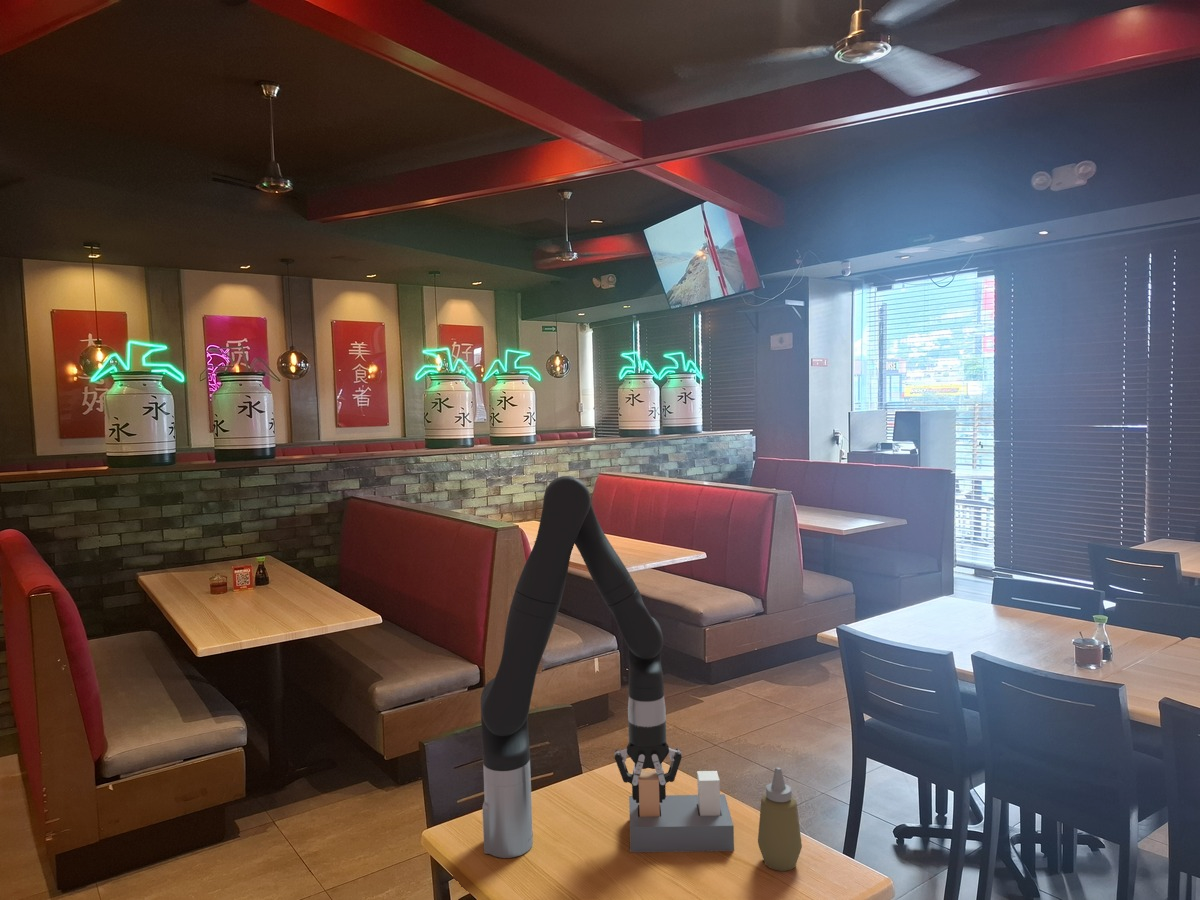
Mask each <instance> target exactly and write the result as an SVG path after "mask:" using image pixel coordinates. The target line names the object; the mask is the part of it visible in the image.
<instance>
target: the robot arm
mask: <svg viewBox="0 0 1200 900" xmlns="http://www.w3.org/2000/svg"><path fill="white" fill-rule="evenodd" d="M542 500H543V502H542V503H543V504H542V510H541V516H540V520H539V526H538V531H537V534H536V538H535V540H534V544H533V547H532V550H531V551H530V554H529V556H528V558H527V559H526V562H525V564H524V566H523V567H522V571H521V574H520V575H519V578H518V581H517V584H516V586H515V589H514V594H513V595H512V600H511V604H510V606H509V610H508V615H507V620H506V626H505V633H504V639H503V649H502V656H501V659H500V663H499V667H498V669H497V671H496V674H495V677H493V678H492V679H490V680H489V681H488V682H487V683H486V684H485V686H484V687H483V689H482V691H481V694H480V718H481V720H480V721H481V722H480V723H481V745H482V746H481V747H482V764H483V793H484V800H483V803H482V828H483V829H482V830H483V853H484V854H486V855H488V854H489V855H491V856H494V857H497V858H502V859H509V858H510V859H511V858H516V857H520V856H521V855H524V854H526V853H527V852H528V851H530V849H532V847H533V845H534V839H533V838H534V837H533V836H534V832H533V807H532V783H531V782H532V781H531V779H532V778H531V756H530V755H531V751H530V750H531V749H530V737H529V736H530V735H529V725H528V724H529V723H528V722H529V721H528V717H529V713H530V708H531V707H530V706H531V701H532V695H533V691H534V686H535V681H536V677H537V673H538V670H539V667H540V666H539V665H540V663H541V661H542V658H543V655H544V652H545V651H546V648H547V644H548V642H549V639H550V636H551V634H552V630H553V628H554V626H555V625H554V624H555V622H556V620H557V615H558V612H559V609H560V606H561V602H562V598H563V596H564V590H565V586H566V581H567V577H568V571H569V567H570V561H571V557H572V556H571V555H572V552H573V550H574V545H575V547H576V548H577V550H578V552H579V553H580V556H581V557H582V558H581V559H583V562H584V565H585V566H586V568H587V570H588V574H590V576H591V579H592V581H593V582H594V583H593V584H594V585H595V587H596V590H598V592H599V594H600V596H601V598H602V600H603V601H604V603H605V605H606V607H607V608H608V609H609V611H610V613H611V614H612V616H613V618H614V619H615V623H616V624H617V627H618V629H619V631H620V633H621V635H622V637H623V640H624V641H625V644H626V645H627V651H628V654H627V656H628V665H629V667H628V669H629V670H628V703H627V704H628V705H627V716H628V717H627V721H628V724H627V725H628V727H627V728H628V744H627V746H626V748H625V749H621V750H620V749H615V751H614V761H615V763H616V766H617V768H618V770H619V773H620V777H621V779H622V781H623V783H625V784H626V783H629V784H630V785H631V791H632V792H631V796H632V798H633V800H636V803H639V777H640V775H641V771H643V770H646V769H647V770H648V769H652V770H656V773H657V776H658V778H659V803H662V800H665V798H666V793H667V792H666V791H667V789H666V785H667V784H668V783H669V782H670V783H673V782H675V779H676V776H677V773H678V770H679V767H680V764H681V760H682V757H683V756H682V751H681V749H680V748H676V749H673V748H671V747H669V744H668V743H667V719H666V718H667V716H666V715H667V712H666V711H667V710H666V709H667V708H666V703H665V702H666V701H665V689H664V686H665V685H664V674H663V673H664V671H663V667H662V649H663V646H664V635H663V632H662V628H661V625H660V623H659V621H657V619H655V618H654V617H653V616H651V613H650V612H649V610H648V608H647V607H646V605H645V603H644V601H643V598H642V594H641V592H640V589H639V588H638V586H637V584H636V582H635V581H634V579H633V578H632V575H631V574H630V572H629V571H628V569H627V567H626V565H625V564H624V563H623V561H622V559H621V558H620V556H619V554H618V553H617V552H616V550H615V549H614V547H613V545H612V544H611V542H610V541H609V539H608V537H607V536H606V534H605V533H604V531H603V529H602V527H601V525H600V522H599V520H598V518H597V517H596V513H595V510H594V508H593V506H592V497H591V493H590V490H589V488H588V487H587V485H586V484H585V483H584V482H583V481H582V480H581V479H579V478H578V477H575V476H570V475H562V476H559V477H557V478H555V479H553V480H552V481H551V482H550V483H548V485H547V487H546V489H545V492H544V494H543V499H542ZM667 756H669V759H670V761H671V762H670V765H669V769H668V771H667V772H664V768H663V764H662V763H663V762H664V760H665V759H666V758H667ZM627 757H629V758H630V759H631V761H632V762H633V763H634V764H633V771H632V773H630V772H629V769H628V768H627V765H626V763H625V762H626V761H627Z"/></svg>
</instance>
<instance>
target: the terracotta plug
mask: <svg viewBox="0 0 1200 900" xmlns="http://www.w3.org/2000/svg"><path fill="white" fill-rule="evenodd" d="M639 817H660V804H659V778H658V776H657V773H656V770H655V769H652V770H642V771H641V775H640V777H639Z"/></svg>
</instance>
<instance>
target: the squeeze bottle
mask: <svg viewBox="0 0 1200 900" xmlns="http://www.w3.org/2000/svg"><path fill="white" fill-rule="evenodd" d="M792 795H793V794H792V787H791V786H790V785H788V784H786V783H785V778H784V774H783V770H782V768H781V767H775V768H774V773H773V777H772V781H771V782H770V783H768V784H767V785H766V786H765V795H764V796H762V798H761V800H760V808H759V809H760V810H759V811H760V813H759V822H758V835H757V845H758V848H759V851H760V853H761V856H762V859H763V861H764V864H765V865H766V866H767V867H768V868H770V869H772V870H775V871H780V872H787V871H791V870H793V869H794V868H796V865H797V863H798V859H799V858H800V853H801V851H802V849H803V843H802V837H801V828H800V820H799V811H798V804H797V800H796V799H795V798H794V797H792Z"/></svg>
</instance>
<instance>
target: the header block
mask: <svg viewBox="0 0 1200 900" xmlns="http://www.w3.org/2000/svg"><path fill="white" fill-rule="evenodd" d="M726 797H727V796H726V794H724V793H723V794H721V793H720V816H699V814H698V794H675V795H674V794H673V795H672V794H670V795H669V794H667V795H666V798H665V800H662V803H659V804H660V817H639V803H636V800H633V798H632V795H629V796H628V798H629V799H628V803H629V805H628V808H629V837H630V838H629V841H630V847H629V848H630V853H669V852H670V853H671V852H672V853H675V852H676V853H680V852H681V853H682V852H684V853H686V852H689V853H691V852H734V851H735V840H734V839H735V835H734V834H735V833H734V831H735V830H734V829H735V826H734V822H733V819H732V816H731V811H730V808H729V804H728V801H727V800H728V799H727V798H726Z"/></svg>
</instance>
